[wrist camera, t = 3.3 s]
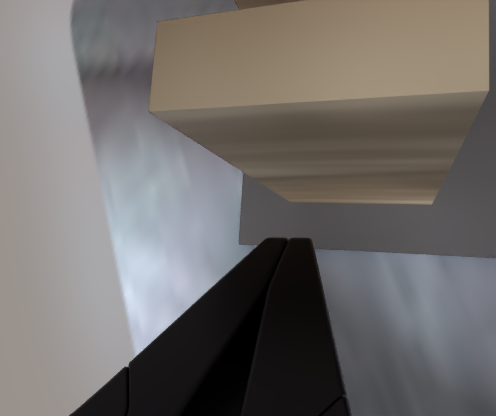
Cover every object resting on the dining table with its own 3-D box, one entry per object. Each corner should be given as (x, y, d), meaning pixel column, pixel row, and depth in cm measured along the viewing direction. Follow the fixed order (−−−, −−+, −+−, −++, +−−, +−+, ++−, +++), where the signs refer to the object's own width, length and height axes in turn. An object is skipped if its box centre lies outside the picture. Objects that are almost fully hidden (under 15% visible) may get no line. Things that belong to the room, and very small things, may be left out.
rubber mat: (495, 258, 14) (498, 257, 14) (242, 244, 17) (238, 243, 17) (493, -190, 16) (495, -200, 16) (267, -132, 19) (265, -140, 19)
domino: (431, 204, 15) (488, 90, 5) (290, 202, 16) (148, 111, 7) (432, 159, 15) (489, -26, 6) (292, 161, 17) (157, 21, 7)
